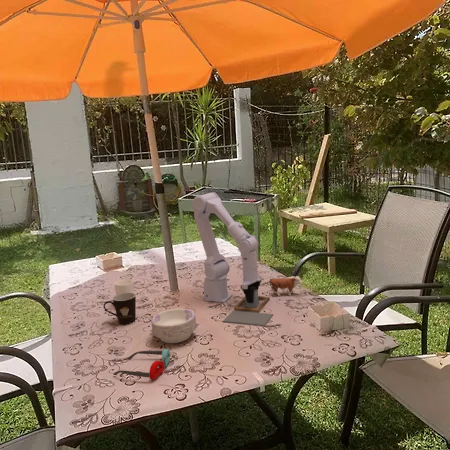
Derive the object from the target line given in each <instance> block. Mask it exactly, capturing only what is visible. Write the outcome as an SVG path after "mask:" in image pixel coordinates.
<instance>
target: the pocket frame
mask: <svg viewBox="0 0 450 450" xmlns="http://www.w3.org/2000/svg"><path fill="white" fill-rule="evenodd" d="M258 299H259V300H260V301H262V302H261V303H259V305H258V307H256V308H255V307H243V305H244V304H246V301H245V296H244V297H243V298H242V299H241V300H240V301H239V302H238V303H237V304H236V305H235V306H234V307H233V311H245V312H256V313H261V310H262V309H264V307H265V306H266V305H267V304H268V303H269V301H270V300H271V299H270V296H263V295H262V296H261V295H258Z"/></svg>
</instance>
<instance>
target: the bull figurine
mask: <svg viewBox="0 0 450 450" xmlns="http://www.w3.org/2000/svg"><path fill="white" fill-rule="evenodd" d="M299 284H300V285H301V284H303V281H302V279H301V277H300V276H299V275H296V276H289V277H285V278H284V277H283V278H280V277H279V278H270V280H269V286H270V288H271V290H272V293H273V294H274V295H277V296H278V297H281V294H280V293H279V289H280V290H281V291H283V290H285V289H288V294H287V295H288V296H290V297H291V296H292V294H295V291H294V290H293V289H295V288H296V287H297V285H299Z"/></svg>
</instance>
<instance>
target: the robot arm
mask: <svg viewBox="0 0 450 450" xmlns="http://www.w3.org/2000/svg"><path fill="white" fill-rule="evenodd" d="M191 204H192V209H193V216H194V220H195V224H196V227H197V230H198V234H199V237H200V239H201V244H202V247H203V250H204V252H205V255H206V259H205V260H204V262H203V265H204V274H205V278H204V280H203V283H202V284H203V287H202V288H203V293H204V294H203V295H204V298H203V301H204V302H216V303H225V302H226V301H227V300H228V299H230V298H231V297H232V294H229V292H228V280H227V279H228V278H227V277H228V273H229V272H230V265H229V262H228V261H227V260H226V258H225V257H226V256H224V255H223V254H221V253H220V250H219V247H218V245H217V244H218V243H217V240H216V237H215V234H214V232H213V231H214V230H213V228H212V223H211V222H210V218H209V217H210V215H211V214H215V215H216V217H218V219H219V220H220V221H221V222H222V223H223V224H224V225H225V226H226V227H227V233H228V234H229V235H230V236H231V238H232V239H233V240H234V241H235V242H236V244H237V248H238V249H237V250H238V251H239V252H240V256H241V265H242V283H241V285H240V289H241V291H242V292H243V294H244V297H246V300H247V303H253V297H254V290H255V289H258V290H259V288H260V285H261V283H262V279H261V277H260V273H259V272H258V259H257V258H258V255H257V249H258V248H259V245H260V242H259V240H258V238H257V236H255V235H252V234H250V233H249V232H248V231H247V230H246V229H245V227H244V226H243V224H242V223H240V222H239V221H235V220H234V219H233V217H232V216H231V215H230V213H229V212H228V210H227V209H226V208H225V207H224V205H223V203H222V199H221V198H220V197H219V195H218V194H217V193H216V192H214V191H212V192H209V193H204V194H201V195H196V196H195V197H194V199H193V201H192V203H191Z"/></svg>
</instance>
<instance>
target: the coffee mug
mask: <svg viewBox="0 0 450 450" xmlns="http://www.w3.org/2000/svg"><path fill="white" fill-rule="evenodd" d="M136 297H137V296H136V294H135V292H134V293H121V294H118V295H116V294H115V295H114V296H113V297H112V299H111V300H112V301H110V300H109V301H106V302H104V303H103V307H102V308H103V309H104V311H106V312H107V313H109V314H111V315H113V316H115V317H116V318H117V322H118V324H119V325H121V324H123V325H122V326H127V324H128V325H131V323H132V324H134V323H135V322H136V321H135V320H136V319H137V318H136V317H137V316H136V310H137V309H136V303H137V301H136V299H137V298H136ZM107 304H112V306H113V307H114V309H115V312H112V311H110V310H108V309H107V307H106V305H107ZM133 322H134V323H133Z"/></svg>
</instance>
